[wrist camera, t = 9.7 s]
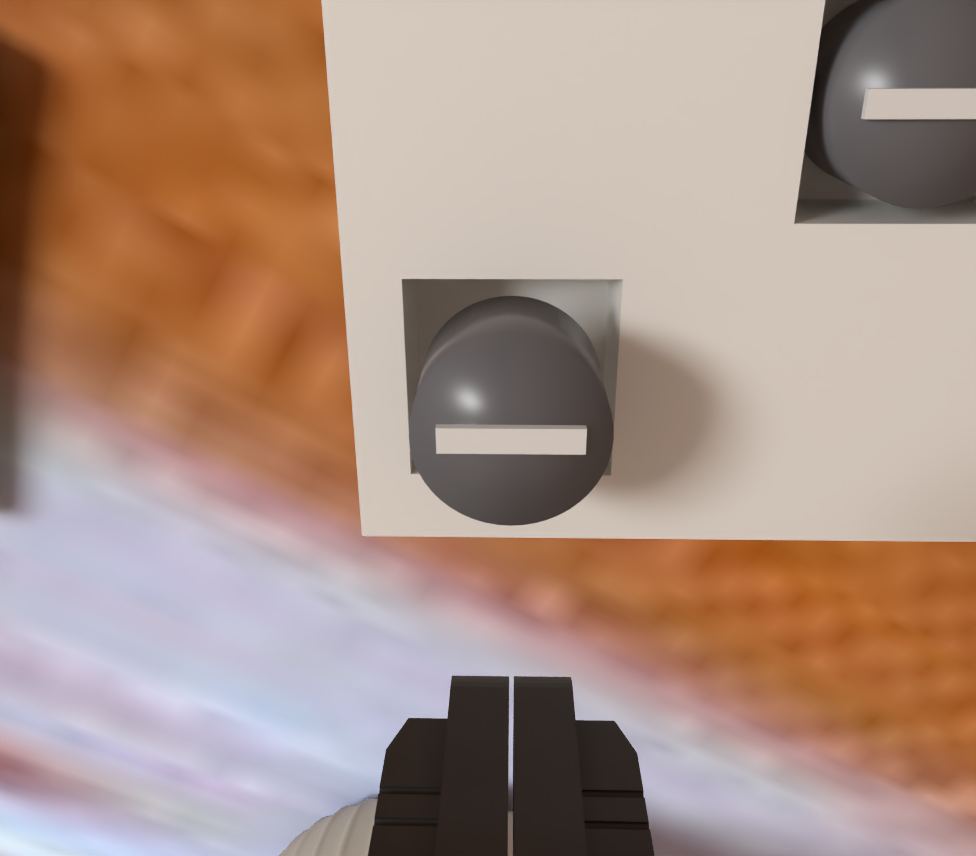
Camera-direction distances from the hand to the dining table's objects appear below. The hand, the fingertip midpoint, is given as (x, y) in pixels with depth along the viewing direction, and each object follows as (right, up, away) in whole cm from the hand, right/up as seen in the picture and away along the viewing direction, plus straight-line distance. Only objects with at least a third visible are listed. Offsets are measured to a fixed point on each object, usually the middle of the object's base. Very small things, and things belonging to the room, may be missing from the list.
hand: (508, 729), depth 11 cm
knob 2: (+9, +12, +10) cm, 18 cm away
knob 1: (0, +5, +11) cm, 12 cm away
